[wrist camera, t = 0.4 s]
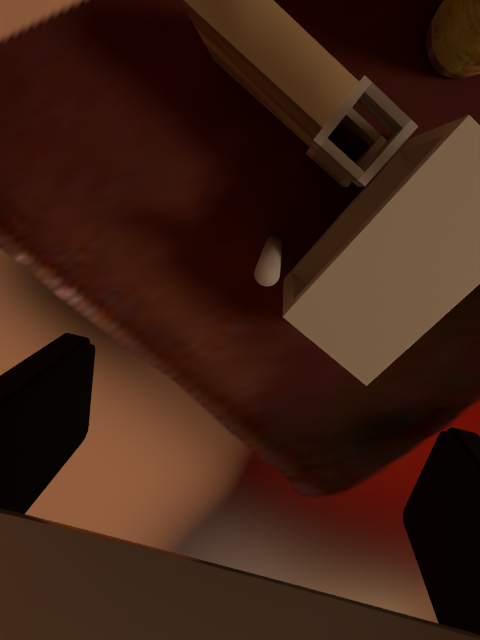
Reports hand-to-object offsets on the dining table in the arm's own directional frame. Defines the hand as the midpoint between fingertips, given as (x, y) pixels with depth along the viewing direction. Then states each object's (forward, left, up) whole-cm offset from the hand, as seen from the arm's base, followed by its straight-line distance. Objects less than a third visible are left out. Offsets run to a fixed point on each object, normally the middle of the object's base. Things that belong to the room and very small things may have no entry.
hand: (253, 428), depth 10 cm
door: (-11, -7, -29) cm, 32 cm away
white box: (-7, +4, -29) cm, 30 cm away
